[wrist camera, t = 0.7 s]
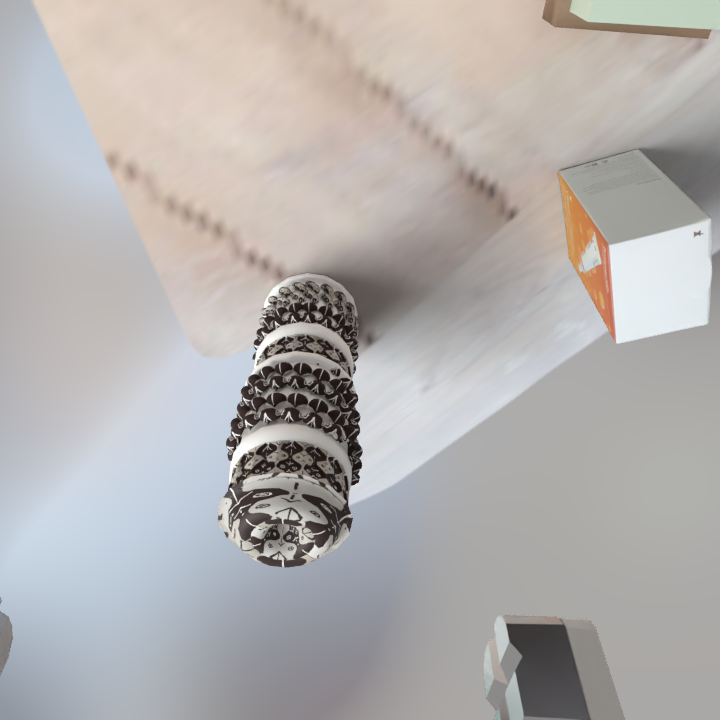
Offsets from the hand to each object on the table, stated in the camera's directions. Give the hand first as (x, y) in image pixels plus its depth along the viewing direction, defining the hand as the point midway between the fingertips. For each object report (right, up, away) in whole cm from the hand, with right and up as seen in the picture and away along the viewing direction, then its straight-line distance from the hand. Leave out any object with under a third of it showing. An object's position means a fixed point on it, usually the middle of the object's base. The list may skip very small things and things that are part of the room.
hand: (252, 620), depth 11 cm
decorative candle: (-3, +8, +48) cm, 48 cm away
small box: (+21, +17, +42) cm, 50 cm away
